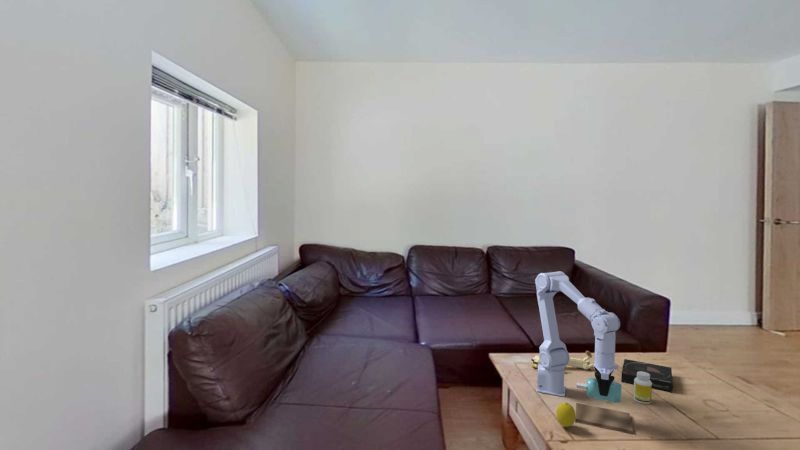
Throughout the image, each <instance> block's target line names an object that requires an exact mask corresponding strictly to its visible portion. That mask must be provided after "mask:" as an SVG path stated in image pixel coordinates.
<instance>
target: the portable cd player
mask: <svg viewBox="0 0 800 450" xmlns="http://www.w3.org/2000/svg"><path fill="white" fill-rule="evenodd" d="M639 371H642V372H646V373H649V374H650V379H649V380H650V381H651V382H652V390H657V391H662V392H666V393H670V394H673V388H674V383H673V371H672V367H670V366H665V365H659V364H653V363H649V362H645V361H644V362H643V361H637V360H631V359H627V358H624V360H623V365H622V370H621V381H620V382H621V383H623V384H626V385H627V384H629V385H632V386H634V379H635V378H636V377H637V372H639Z"/></svg>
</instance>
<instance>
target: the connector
mask: <svg viewBox="0 0 800 450" xmlns="http://www.w3.org/2000/svg"><path fill="white" fill-rule="evenodd" d="M576 389H581V390H585V391H586V393H585V394H586V397H589V398H590V399H595V400H599V401H604V402H609V403H610V402H612V403H618V404H619V403H621V402H622V384H621V383H619V382H617V381H613V382H612V384H611V386H610V389H609V393H608V396H601V395H600V393H599V387H598V382H597V380H596V378H595V377H588V378H586V383H583V382H582V383H581V382H576Z"/></svg>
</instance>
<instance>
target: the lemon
mask: <svg viewBox="0 0 800 450" xmlns="http://www.w3.org/2000/svg"><path fill="white" fill-rule="evenodd" d="M555 414H556V415H555V416H556V420H557V422H558V424H560V425H561V426H563V428H566V429H567V428H568V427H571V426H573V425H574V424H575V423H576V422H575V415H576V410H575V409H574V407H573V405H572V404H570V403H568V402H566V401H565V402H561V403H560V404H559V405H557V408H556V413H555Z"/></svg>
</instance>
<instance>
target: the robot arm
mask: <svg viewBox="0 0 800 450" xmlns="http://www.w3.org/2000/svg"><path fill="white" fill-rule="evenodd" d="M534 283H535V288H536V298H537V304H538V308H539V309H538V310H539V311H538V312H539V317H540V322H541V327H542V328H541V330H542V334H543V335H542V336H543V342H542V343H541V345H540V346H539V347H538V348H539V349H538V350H539V354H538V355H539V360H540V363H541V364H542V365H541V364H539V365H538V368H537V374H536V375H537V376H536V377H537V379H536V392H538V393H544V394H548V395H553V396H554V395H555V396H558V397H559V396H560V397H563V398H564V397H565V395H566V386H565V368H567V365H566V364H568V363H569V360H570V354H569V351H568V350H567V346H566V344H565V343H564V342H563V341H562V340H561V339H560V333H559V327H558V321H557V315H556V309H555V305H554V304H555V303H554V296H555V295H556V294H557V293H558V292H561V293H563V294H564V295H565V296H566V297H568V298H569V299H570V300H571V301H573V303H575V304H576V305H577V310H578V312H580V313H581V314H582V315H583V317H585V318H586V319H587V320H588V321H589V322H590V325H591V326H592V329H593V332H594V333H593V336H594V337H595V339H594V362H593V365H594V367H593V368H594V378H595V379H596V380H597V382H598V387H599V393H600V395H601V396H608V393H609V389H610V386H611V384H612V382H615V375H612V374H613V373H614V371H616V370H617V371H618V370H619V365H616V364H615V360H616V359H615V358H616V331H618V330H619V329H620V328H621V321H620V318H618V315H616V314H615V313H614V312H608V311H606V310H605V308H602V307H601V306H600V304H598V303H597V302H596V299H594V298H591V297H585V296H584V295H583V294H582V293H581V292H580V290H579V289H577V287H576V286H575V285H573V283H572V282H571V281H570V277H569V276H568V275H566V273H565V272H563V271H559V270H558V271H553V272H552V271H550V272H540V273H538V275H536V278H535V279H534Z"/></svg>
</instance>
